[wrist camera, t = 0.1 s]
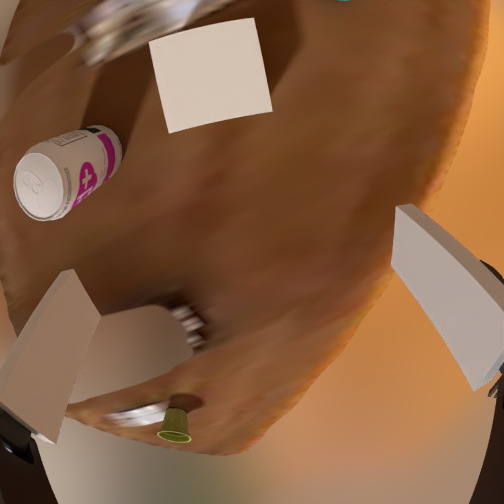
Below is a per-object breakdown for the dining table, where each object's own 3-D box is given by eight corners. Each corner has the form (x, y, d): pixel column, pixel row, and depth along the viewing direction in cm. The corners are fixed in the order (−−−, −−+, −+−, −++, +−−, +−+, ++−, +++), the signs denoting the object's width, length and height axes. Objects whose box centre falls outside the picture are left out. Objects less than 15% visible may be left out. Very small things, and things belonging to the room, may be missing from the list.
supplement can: (134, 144, 33) (81, 175, 20) (105, 190, 35) (52, 241, 23) (92, 113, 29) (25, 130, 17) (67, 161, 32) (3, 198, 19)
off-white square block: (168, 54, 27) (148, 41, 19) (248, 36, 26) (253, 17, 19) (183, 125, 32) (169, 133, 24) (263, 108, 32) (272, 111, 24)
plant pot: (185, 420, 72) (183, 444, 65) (156, 412, 69) (153, 436, 62) (197, 410, 68) (196, 436, 61) (166, 401, 65) (163, 428, 58)
